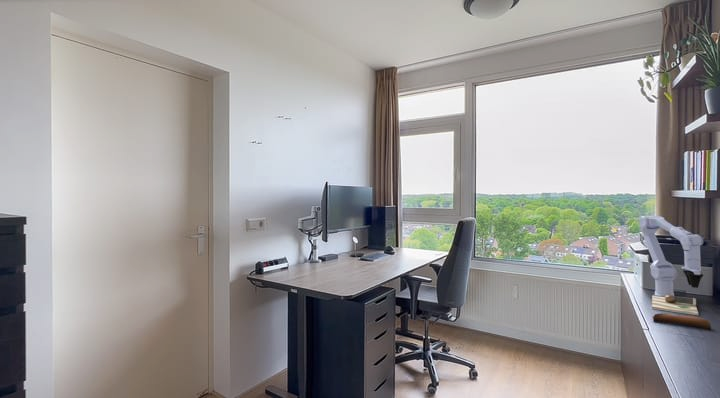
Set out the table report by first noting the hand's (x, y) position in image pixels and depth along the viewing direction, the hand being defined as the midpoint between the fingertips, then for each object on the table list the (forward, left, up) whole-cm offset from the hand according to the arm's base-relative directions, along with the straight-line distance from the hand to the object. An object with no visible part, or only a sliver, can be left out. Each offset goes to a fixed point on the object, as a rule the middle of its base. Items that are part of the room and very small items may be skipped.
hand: (693, 286), depth 167 cm
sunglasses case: (+34, -7, -10) cm, 36 cm away
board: (+7, -8, -9) cm, 14 cm away
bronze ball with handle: (+5, -5, -8) cm, 11 cm away
